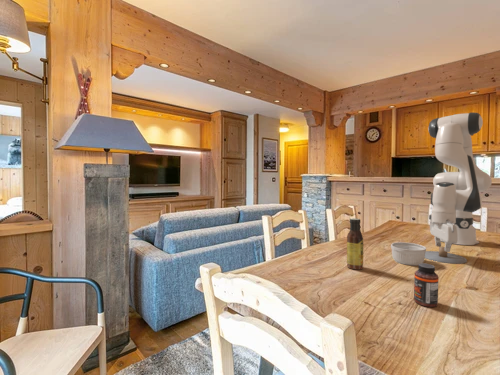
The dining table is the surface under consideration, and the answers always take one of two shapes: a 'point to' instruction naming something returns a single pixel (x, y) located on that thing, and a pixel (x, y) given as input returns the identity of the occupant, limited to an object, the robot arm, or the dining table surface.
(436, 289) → the supplement bottle
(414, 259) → the ramekin
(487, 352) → the dining table surface
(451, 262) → the lid
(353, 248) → the sauce bottle
